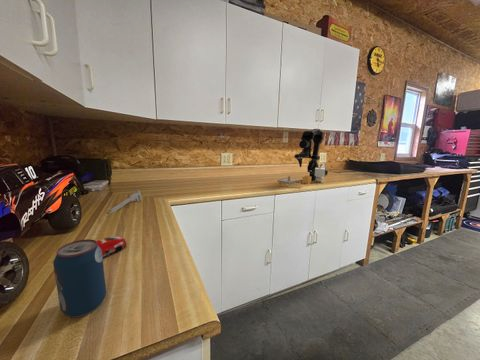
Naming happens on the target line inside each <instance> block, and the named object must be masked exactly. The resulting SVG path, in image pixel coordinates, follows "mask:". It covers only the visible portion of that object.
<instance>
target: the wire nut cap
mask: <svg viewBox="0 0 480 360" xmlns="http://www.w3.org/2000/svg"><path fill="white" fill-rule="evenodd" d="M311 178H312V177H310V176H309V175H304V176H302V179H301V182H302V184H306V185H307V184H308V185H309V184H311V183H312V180H311Z"/></svg>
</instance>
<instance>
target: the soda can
mask: <svg viewBox="0 0 480 360" xmlns="http://www.w3.org/2000/svg"><path fill="white" fill-rule="evenodd" d="M96 241H97V240H95V239H90V238H89V239H88V238H87V239H79V240H75V241H71V242H69V243H65V244H63V245H61V246H60V247H59V248H58V249H57V250H56V255H55V257H54V259H53V261H52V263H53V271H54V277H55V284H56V290H57V291H56V292H57V297H58V298H57V299H58V304H59V308H60V309H59V310H60V312H61V313H62V314H64V315H66V316H67V317H70V318H79V317H80V318H81V317H83V316H86V315H88V314H90V313H91V314H92V312H94V311H95V310H97V309H98V308H99V307H100V306H101V305H102V303H103V302H104V300H105V297H106V296H107V287H106V278H105V266H104V258H103V257H102V250H101V248H100V247H99V246H98V245H97V242H96Z"/></svg>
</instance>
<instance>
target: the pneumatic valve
mask: <svg viewBox="0 0 480 360" xmlns="http://www.w3.org/2000/svg"><path fill="white" fill-rule="evenodd" d="M318 167H319V168H314V169H312V174H313V175H314V176H316V178H315V180H314V181H316V183H317V182H319V183H321V182H322V181H323V178H324V177H326V176H328V172H329V170H328V169H327V168H326V167H321V166H318ZM322 177H323V178H322Z"/></svg>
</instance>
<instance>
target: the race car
mask: <svg viewBox="0 0 480 360" xmlns="http://www.w3.org/2000/svg"><path fill="white" fill-rule="evenodd" d="M95 241H96V242H97V245H98V246H99V247H100V248H101V250H102V257H103V259H105V258H107V257H109V256H111V255H113V254H116V253H119V252H122V250H124V249H125V248H126V247H127V244H128V243H127V241H126V238H124V237H122V236H118V235H117V236H109V237H105V238H101V239H99V240H95Z"/></svg>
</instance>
